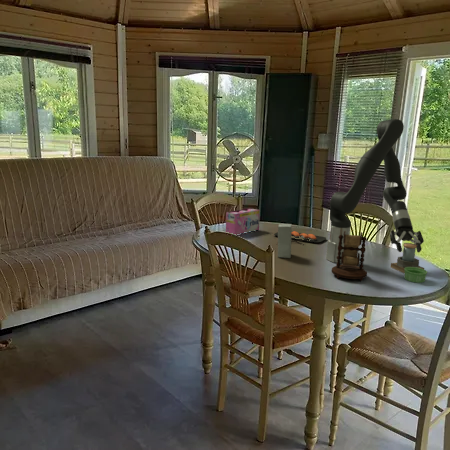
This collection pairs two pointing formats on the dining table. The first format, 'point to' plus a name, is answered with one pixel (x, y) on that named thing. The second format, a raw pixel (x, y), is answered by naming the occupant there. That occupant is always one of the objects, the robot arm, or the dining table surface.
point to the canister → (409, 252)
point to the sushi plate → (305, 237)
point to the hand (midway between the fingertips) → (410, 251)
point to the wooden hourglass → (350, 257)
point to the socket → (405, 264)
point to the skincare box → (284, 240)
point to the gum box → (242, 221)
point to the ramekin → (415, 274)
